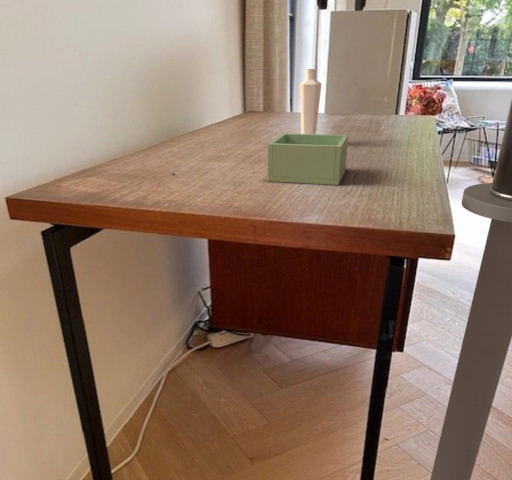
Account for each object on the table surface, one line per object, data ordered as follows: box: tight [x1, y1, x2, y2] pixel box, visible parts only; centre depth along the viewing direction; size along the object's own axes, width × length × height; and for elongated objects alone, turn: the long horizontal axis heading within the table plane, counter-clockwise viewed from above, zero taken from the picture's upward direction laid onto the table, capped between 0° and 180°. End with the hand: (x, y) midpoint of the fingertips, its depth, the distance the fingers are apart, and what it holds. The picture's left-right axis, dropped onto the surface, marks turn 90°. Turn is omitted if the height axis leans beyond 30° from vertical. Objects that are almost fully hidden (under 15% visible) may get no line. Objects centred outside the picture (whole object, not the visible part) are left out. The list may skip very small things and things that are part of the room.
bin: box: [266, 132, 349, 186], centre depth 84 cm, size 12×12×6 cm
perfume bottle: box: [299, 68, 322, 134], centre depth 109 cm, size 5×4×15 cm
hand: (341, 10), depth 101 cm, fingers open, 8 cm apart
